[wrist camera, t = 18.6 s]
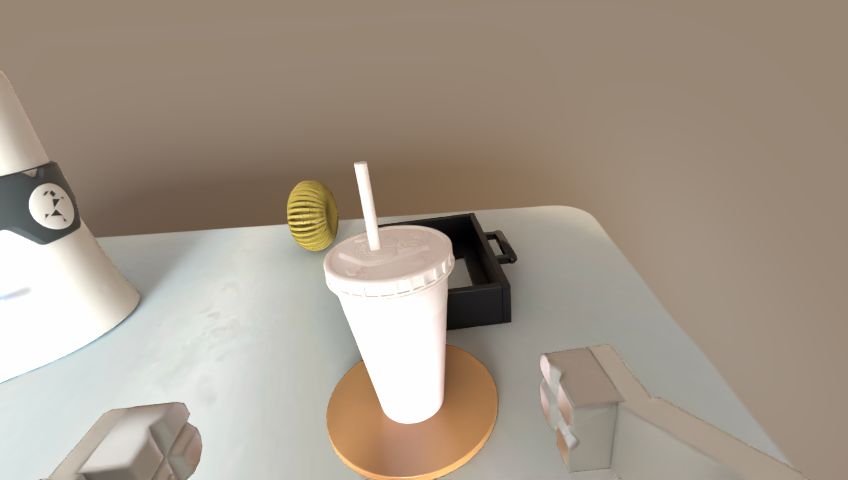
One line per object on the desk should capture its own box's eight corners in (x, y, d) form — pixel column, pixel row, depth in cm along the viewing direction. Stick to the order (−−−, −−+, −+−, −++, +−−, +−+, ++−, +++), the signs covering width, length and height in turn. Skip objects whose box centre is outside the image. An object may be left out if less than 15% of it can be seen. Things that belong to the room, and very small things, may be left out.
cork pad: (311, 497, 19) (309, 490, 19) (340, 356, 28) (339, 351, 28) (519, 470, 19) (518, 463, 19) (480, 338, 28) (479, 332, 28)
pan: (337, 344, 29) (327, 308, 28) (357, 255, 43) (351, 228, 42) (536, 319, 29) (536, 281, 28) (492, 237, 43) (491, 210, 42)
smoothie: (364, 365, 26) (316, 155, 20) (460, 354, 26) (439, 140, 20) (351, 451, 20) (279, 191, 15) (475, 438, 20) (452, 170, 15)
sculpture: (328, 262, 42) (311, 190, 39) (292, 264, 43) (272, 194, 40) (347, 232, 50) (333, 170, 46) (316, 234, 50) (301, 173, 47)
